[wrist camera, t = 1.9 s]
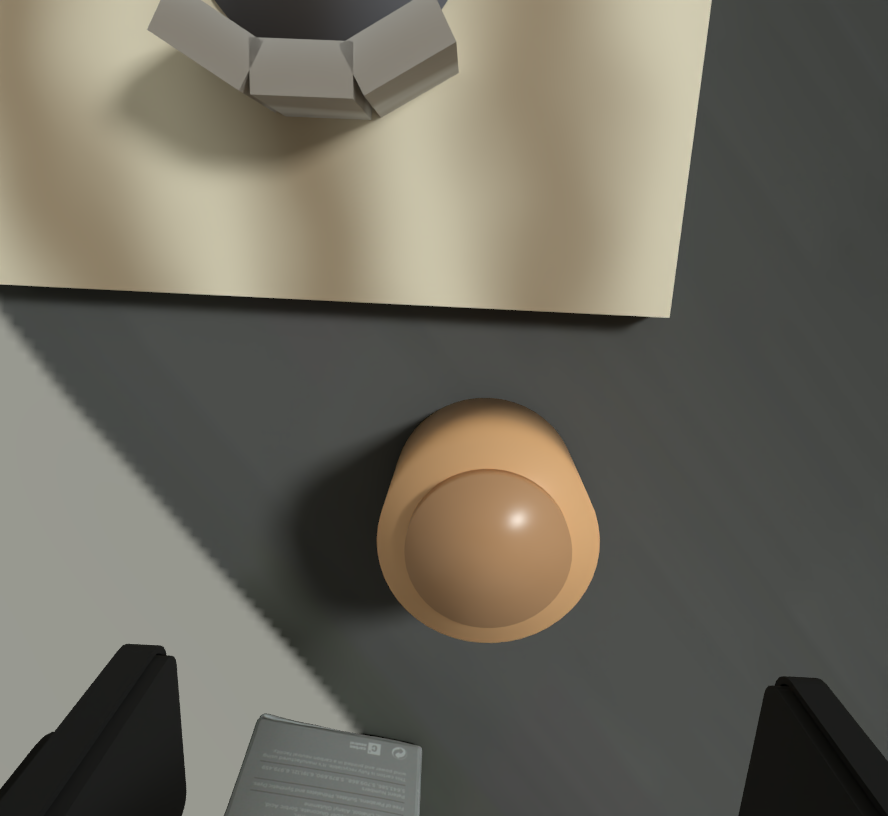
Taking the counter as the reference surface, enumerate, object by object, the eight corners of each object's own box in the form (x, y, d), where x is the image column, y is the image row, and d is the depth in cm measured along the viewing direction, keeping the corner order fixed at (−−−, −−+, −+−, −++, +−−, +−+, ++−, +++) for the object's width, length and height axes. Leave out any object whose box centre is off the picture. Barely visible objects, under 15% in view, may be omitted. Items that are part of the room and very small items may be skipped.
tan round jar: (583, 402, 21) (615, 452, 16) (565, 570, 23) (590, 660, 18) (397, 392, 21) (376, 438, 17) (392, 559, 23) (372, 646, 18)
